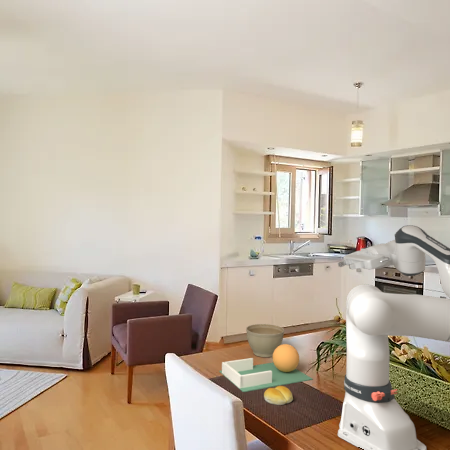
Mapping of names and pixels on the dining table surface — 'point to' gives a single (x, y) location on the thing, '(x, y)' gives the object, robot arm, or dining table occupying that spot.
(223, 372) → the white open box
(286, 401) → the bread roll
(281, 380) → the putting mat
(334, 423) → the dining table surface
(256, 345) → the planter bowl
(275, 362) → the ball
